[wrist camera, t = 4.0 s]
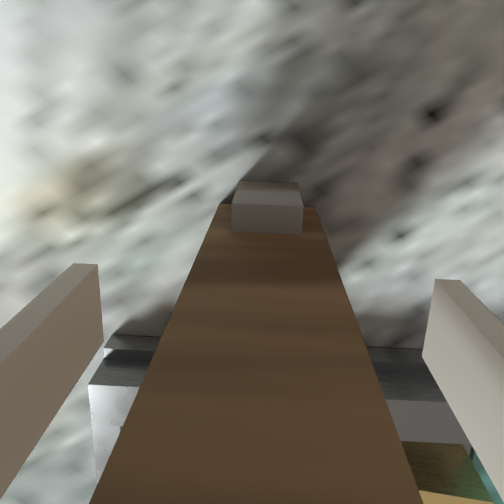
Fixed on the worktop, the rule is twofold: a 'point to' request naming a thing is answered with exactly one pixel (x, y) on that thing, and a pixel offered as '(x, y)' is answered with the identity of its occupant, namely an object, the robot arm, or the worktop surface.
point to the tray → (485, 477)
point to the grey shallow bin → (383, 359)
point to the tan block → (445, 474)
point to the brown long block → (260, 378)
